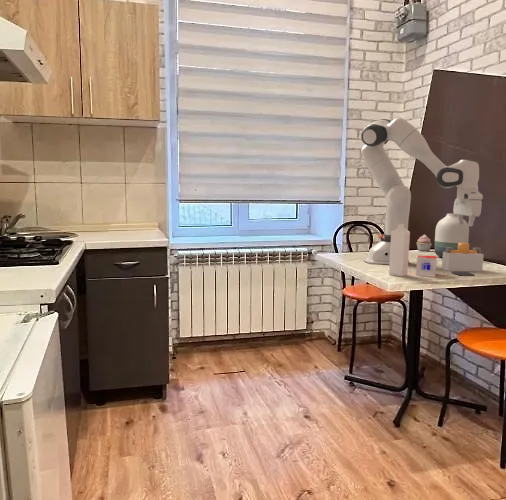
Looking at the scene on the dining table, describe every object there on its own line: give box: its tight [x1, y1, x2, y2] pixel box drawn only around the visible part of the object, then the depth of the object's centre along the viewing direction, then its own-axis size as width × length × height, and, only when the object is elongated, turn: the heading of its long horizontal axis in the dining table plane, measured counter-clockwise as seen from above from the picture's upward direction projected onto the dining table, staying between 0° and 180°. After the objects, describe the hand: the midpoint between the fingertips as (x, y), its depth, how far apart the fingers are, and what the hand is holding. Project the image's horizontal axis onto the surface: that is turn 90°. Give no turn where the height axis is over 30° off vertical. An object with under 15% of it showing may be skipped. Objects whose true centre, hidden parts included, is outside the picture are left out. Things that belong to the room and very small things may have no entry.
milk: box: [388, 224, 411, 277], centre depth 214 cm, size 6×6×22 cm
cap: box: [450, 242, 478, 254], centre depth 230 cm, size 13×5×4 cm, turn 92°
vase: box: [434, 213, 470, 258], centre depth 270 cm, size 17×17×24 cm
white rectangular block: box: [441, 247, 484, 272], centre depth 231 cm, size 16×7×10 cm, turn 92°
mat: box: [451, 271, 475, 277], centre depth 219 cm, size 7×7×1 cm
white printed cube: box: [415, 254, 438, 277], centre depth 217 cm, size 8×8×8 cm
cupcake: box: [415, 234, 433, 252], centre depth 298 cm, size 9×9×10 cm
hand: (465, 225), depth 229 cm, fingers open, 8 cm apart
